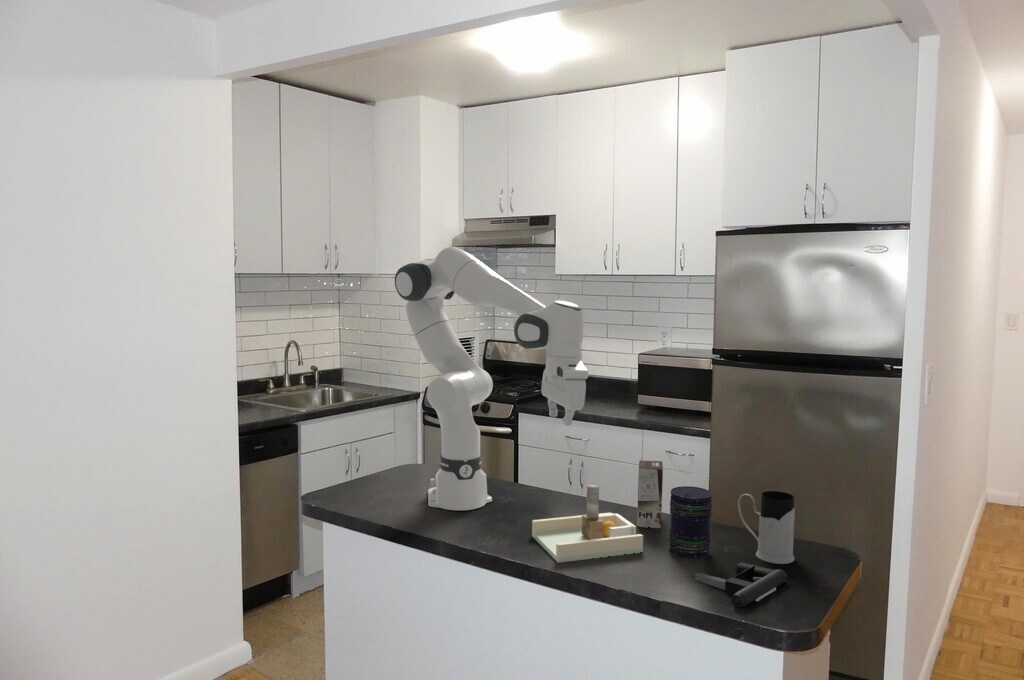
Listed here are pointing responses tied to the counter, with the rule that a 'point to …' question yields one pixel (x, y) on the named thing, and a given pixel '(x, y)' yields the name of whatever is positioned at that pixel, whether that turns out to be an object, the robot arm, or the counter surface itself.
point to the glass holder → (774, 526)
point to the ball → (607, 527)
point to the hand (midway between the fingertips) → (560, 420)
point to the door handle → (747, 583)
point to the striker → (592, 515)
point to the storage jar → (690, 522)
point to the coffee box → (650, 494)
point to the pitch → (571, 545)
